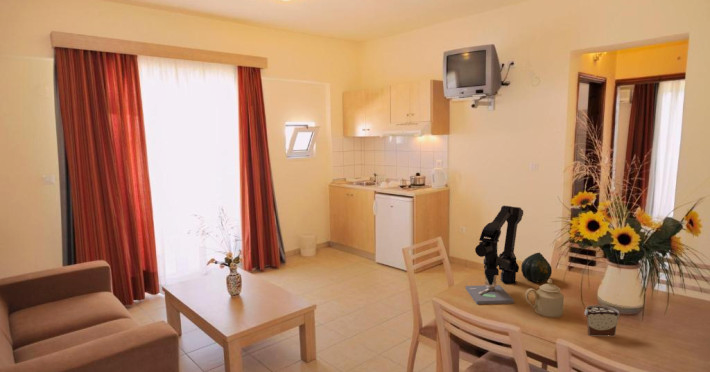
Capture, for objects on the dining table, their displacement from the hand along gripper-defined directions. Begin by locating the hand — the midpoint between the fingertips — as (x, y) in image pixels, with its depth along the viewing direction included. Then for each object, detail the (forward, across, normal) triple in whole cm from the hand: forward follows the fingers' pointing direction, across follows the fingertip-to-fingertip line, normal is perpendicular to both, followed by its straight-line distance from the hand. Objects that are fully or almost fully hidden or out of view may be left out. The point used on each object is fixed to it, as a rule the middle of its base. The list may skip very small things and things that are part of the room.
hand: (490, 283), depth 203 cm
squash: (+5, +23, -24) cm, 34 cm away
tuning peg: (+3, -3, +2) cm, 5 cm away
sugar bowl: (+5, -19, -22) cm, 29 cm away
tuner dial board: (+5, -4, +1) cm, 6 cm away
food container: (+5, -33, -38) cm, 51 cm away
